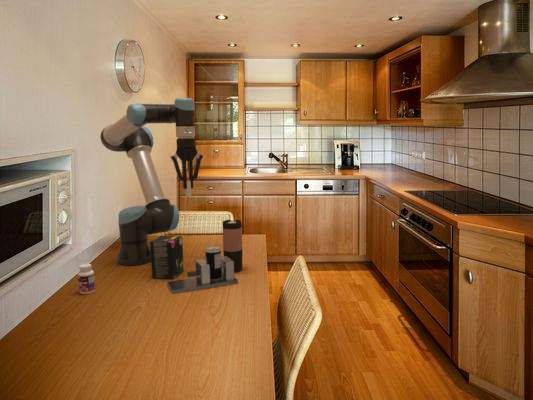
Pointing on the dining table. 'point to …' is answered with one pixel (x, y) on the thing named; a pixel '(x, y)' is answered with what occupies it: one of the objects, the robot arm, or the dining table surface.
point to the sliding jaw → (201, 272)
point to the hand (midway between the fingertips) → (188, 196)
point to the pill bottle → (86, 279)
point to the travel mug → (233, 242)
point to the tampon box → (167, 257)
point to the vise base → (226, 279)
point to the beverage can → (214, 262)
